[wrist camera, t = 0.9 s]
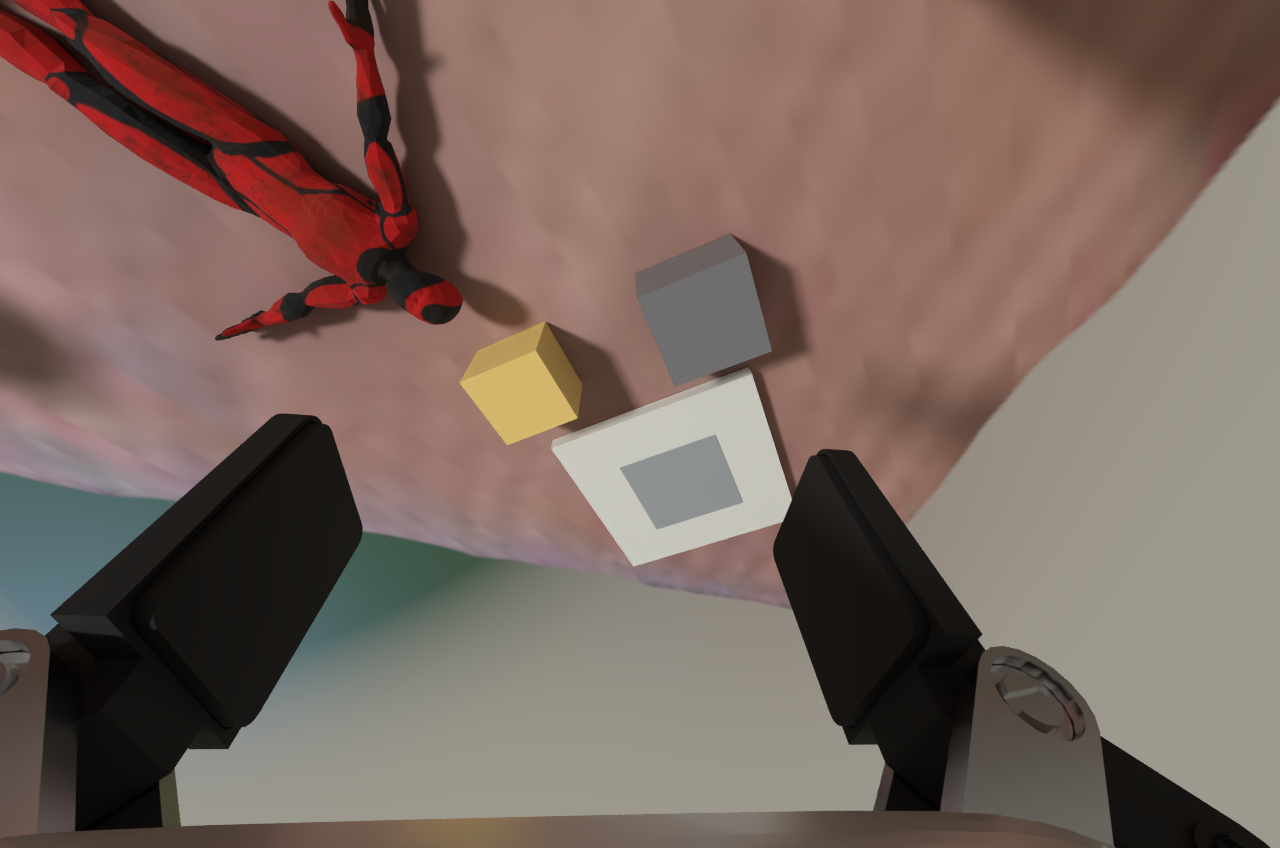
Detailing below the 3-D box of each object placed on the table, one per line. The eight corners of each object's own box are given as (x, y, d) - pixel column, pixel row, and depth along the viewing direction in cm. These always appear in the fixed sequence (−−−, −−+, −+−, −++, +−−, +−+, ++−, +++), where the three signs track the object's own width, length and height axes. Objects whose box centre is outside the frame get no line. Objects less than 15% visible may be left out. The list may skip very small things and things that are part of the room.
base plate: (748, 366, 37) (752, 374, 36) (793, 508, 47) (797, 518, 46) (552, 440, 40) (550, 449, 39) (633, 557, 50) (633, 567, 49)
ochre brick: (545, 320, 34) (535, 350, 30) (582, 383, 37) (577, 418, 33) (477, 350, 35) (459, 382, 31) (519, 408, 39) (507, 445, 34)
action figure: (-465, -765, 11) (552, 139, 21) (-99, -471, 17) (572, 137, 27) (-247, 159, 22) (356, 466, 32) (-70, 153, 28) (398, 417, 38)
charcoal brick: (729, 232, 31) (746, 252, 27) (754, 321, 35) (772, 351, 31) (634, 272, 32) (637, 297, 28) (668, 354, 36) (674, 386, 32)
